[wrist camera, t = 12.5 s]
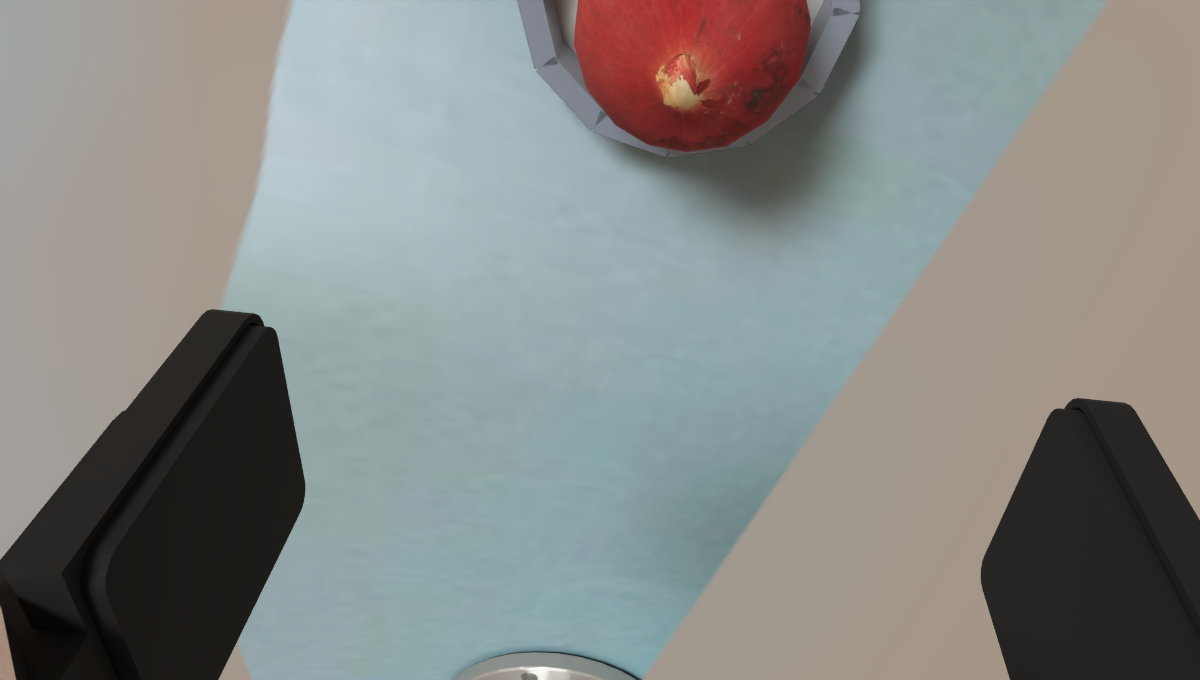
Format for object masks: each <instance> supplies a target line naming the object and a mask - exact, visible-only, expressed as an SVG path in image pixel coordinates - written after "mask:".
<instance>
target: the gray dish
mask: <svg viewBox="0 0 1200 680" xmlns="http://www.w3.org/2000/svg"><path fill="white" fill-rule="evenodd" d="M517 2H518V6H519V10H520V14H521V18H522V22H523V26H524V30H525V34H526V38H527V42H528V46H529V49H530V53H531V57H532V61H533V65H534V68H537V71H536V72H537V73H538V74H539V75H540V76H541V77H542V79H543V80H544V81H545V82H546V83H547V84H548V85H549V86H550V87H551V88H552V89H553V90H554V92H555V93H556V94H557V95H558V96H559V97H560V98H561V99H562V100H563V101H564V102H565V104H566V105H567V106H568V107H569V108H570V109H571V110H572V111H573V112H574V113H575V114H576V115H577V117H578V118H579V119H580V120H581V121H582V122H583V123H584V124H585V125H586V126H587V127H588V128H589V130H591V129H592V128H593V127H594V130H593V132H594V133H597V134H600V135H603V136H606V137H609V138H612V139H614V140H617V141H620V142H623V143H626V144H629V145H632V146H634V147H637V148H640V149H643V150H646V151H649V152H652V153H654V154H657V155H660V156H663V157H666V156H667V154H668V152H669V158H672V157H678V156H685V155H692V154H699V153H705V152H712V151H719V150H726V149H732V148H739V147H746V146H747V141H748V143H749V144H750V145H751V144H752V143H754V142H755V141H757V140H758V139H759V138H761V137H762V136H764V135H765V134H766V133H768V132H769V131H771V130H772V129H773V128H775V127H776V126H778V125H779V124H780V123H782V122H783V121H784V120H786V119H787V118H789V117H790V116H791V115H793V114H794V113H796V112H797V111H798V110H800V109H801V108H803V107H804V106H805V105H807V104H808V103H810V102H811V101H812V100H814V99H815V98H816V97H817V94H816V93H819V94H820V93H821V91H822V89H823V87H824V85H825V83H826V81H827V79H828V77H829V75H830V73H831V71H832V69H833V67H834V65H835V63H836V61H837V59H838V57H839V55H840V53H841V51H842V49H843V47H844V45H845V43H846V41H847V39H848V37H849V35H850V33H851V31H852V29H853V27H854V25H855V23H856V21H857V19H858V17H859V14H858V12H860V0H807V5H808V9H809V13H810V18H811V30H810V34H809V39H808V44H807V48H806V53H805V58H804V62H803V67H802V72H801V76H800V79H799V81H798V82H797V83H796V85H795V86H794V87H793V89H792V90H791V91H790V92H789V94H788V95H787V96H786V98H785V99H784V100H783V102H782V103H781V104H780V106H779V107H778V108H777V110H776V111H775V112H774V114H773V115H772V116H771V118H770V119H769V120H768V121H767V122H765V123H764V124H762V125H761V126H759V127H757V128H756V129H754V130H753V131H751V132H749V133H748V134H746V135H744V136H743V137H741V138H739V139H738V140H736V141H735V142H733V143H731V144H730V145H728V146H726V147H720V148H713V149H706V150H699V151H691V152H682V151H677V150H672V149H666V148H661V147H656V146H651V145H648V144H646V143H644V142H643V141H641V140H639V139H638V138H636V137H634V136H633V135H631V134H629V133H628V132H626V131H624V130H623V129H621V128H619V127H618V126H616V125H615V124H614V123H613V122H612V121H611V119H610V118H609V117H608V115H607V114H606V113H605V112H604V110H603V109H602V108H601V107H600V105H599V104H598V103H597V101H596V100H595V99H594V98H593V96H592V95H591V94H590V92H589V91H588V89H587V88H586V86H585V82H584V79H583V75H582V71H581V68H580V64H579V61H578V57H577V53H576V50H575V46H574V31H575V23H576V14H577V5H578V0H517Z"/></svg>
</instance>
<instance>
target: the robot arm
mask: <svg viewBox="0 0 1200 680" xmlns="http://www.w3.org/2000/svg"><path fill="white" fill-rule="evenodd" d="M304 497H305V480H304V474H303V469H302V464H301V459H300V453H299V448H298V443H297V437H296V432H295V427H294V421H293V416H292V411H291V405H290V400H289V395H288V390H287V384H286V379H285V374H284V368H283V363H282V358H281V352H280V347H279V342H278V337H277V334H276V331H275V330H274V328H271V327H265V326H264V324H263V321H262V319H261V318H260V316H259V315H257V314H253V313H243V312H234V311H224V310H214V309H211V310H207V311H206V312H205V313H204V314H203V315H202V316H201V317H200V318H199V320H198V321H197V322H196V323H195V325H194V326H193V327H192V328H191V329H190V331H189V332H188V333H187V334H186V336H185V337H184V338H183V339H182V341H181V342H180V343H179V344H178V346H177V347H176V348H175V350H174V351H173V352H172V353H171V354H170V356H169V357H168V358H167V359H166V361H165V362H164V363H163V364H162V366H161V367H160V368H159V369H158V371H157V372H156V373H155V375H154V376H153V377H152V378H151V379H150V381H149V382H148V383H147V384H146V386H145V387H144V388H143V389H142V391H141V392H140V393H139V394H138V396H137V397H136V398H135V399H134V401H133V402H132V403H131V404H130V406H129V407H128V408H127V409H126V411H123V412H121V413H120V414H119V415H118V416H117V417H116V418H115V419H114V420H113V421H112V422H111V423H110V425H109V426H108V427H107V429H106V430H105V431H104V432H103V434H102V435H101V436H100V437H99V438H98V440H97V441H96V442H95V443H94V445H93V446H92V447H91V448H90V450H89V451H88V452H87V453H86V454H85V456H84V457H83V458H82V459H81V461H80V462H79V463H78V464H77V466H76V467H75V468H74V469H73V471H72V472H71V473H70V474H69V476H68V477H67V478H66V479H65V481H64V482H63V483H62V484H61V485H60V487H59V488H58V489H57V491H56V492H55V493H54V494H53V495H52V497H51V498H50V499H49V500H48V502H47V503H46V504H45V506H44V507H43V508H42V509H41V510H40V512H39V513H38V514H37V515H36V517H35V518H34V519H33V520H32V522H31V523H30V524H29V525H28V527H27V528H26V529H25V530H24V532H23V533H22V534H21V535H20V536H19V538H18V539H17V540H16V541H15V543H14V544H13V545H12V546H11V548H10V549H9V550H8V551H7V553H6V554H5V555H4V556H3V557H2V559H1V560H0V680H218V679H219V677H220V675H221V673H222V671H223V669H224V667H225V665H226V663H227V661H228V659H229V657H230V655H231V653H232V651H233V649H234V647H235V645H236V643H237V640H238V638H239V636H240V634H241V632H242V630H243V628H244V626H245V624H246V622H247V620H248V618H249V616H250V614H251V612H252V610H253V608H254V606H255V604H256V602H257V600H258V598H259V596H260V594H261V592H262V589H263V587H264V585H265V583H266V581H267V579H268V577H269V575H270V573H271V571H272V569H273V567H274V565H275V563H276V561H277V559H278V557H279V555H280V553H281V551H282V549H283V547H284V545H285V543H286V541H287V539H288V536H289V534H290V532H291V530H292V528H293V526H294V524H295V522H296V520H297V518H298V516H299V514H300V512H301V509H302V506H303V502H304ZM981 584H982V589H983V592H984V596H985V599H986V602H987V605H988V609H989V612H990V615H991V618H992V622H993V625H994V628H995V632H996V635H997V638H998V642H999V644H1000V648H1001V651H1002V655H1003V658H1004V661H1005V664H1006V668H1007V671H1008V674H1009V677H1010V680H1200V520H1199V518H1198V517H1197V515H1196V513H1195V512H1194V510H1193V508H1192V507H1191V505H1190V503H1189V501H1188V500H1187V498H1186V496H1185V495H1184V493H1183V491H1182V490H1181V488H1180V486H1179V484H1178V483H1177V481H1176V479H1175V478H1174V476H1173V474H1172V472H1171V471H1170V469H1169V468H1168V466H1167V464H1166V463H1165V461H1164V459H1163V457H1162V456H1161V454H1160V452H1159V450H1158V449H1157V447H1156V445H1155V444H1154V442H1153V440H1152V439H1151V437H1150V435H1149V434H1148V432H1147V430H1146V429H1145V427H1144V425H1143V423H1142V422H1141V420H1140V418H1139V417H1138V415H1137V413H1136V411H1135V410H1134V409H1133V408H1132V407H1131V406H1130V405H1128V404H1126V403H1121V402H1111V401H1101V400H1091V399H1081V398H1077V399H1073V400H1072V401H1070V402H1069V403H1068V404H1067V405H1066V407H1065V409H1055V410H1053V411H1052V412H1051V413H1050V415H1049V417H1048V419H1047V421H1046V423H1045V425H1044V427H1043V430H1042V432H1041V434H1040V436H1039V438H1038V440H1037V443H1036V445H1035V447H1034V449H1033V451H1032V454H1031V456H1030V458H1029V460H1028V462H1027V465H1026V467H1025V469H1024V471H1023V473H1022V475H1021V477H1020V480H1019V482H1018V484H1017V486H1016V488H1015V491H1014V493H1013V495H1012V497H1011V499H1010V501H1009V503H1008V506H1007V508H1006V510H1005V512H1004V514H1003V517H1002V519H1001V521H1000V523H999V526H998V528H997V530H996V532H995V534H994V536H993V538H992V540H991V543H990V545H989V547H988V549H987V551H986V554H985V556H984V559H983V561H982V567H981ZM454 680H636V679H635V678H633V677H631V676H629V675H628V674H626V673H624V672H622V671H620V670H618V669H615V668H613V667H611V666H608V665H606V664H603V663H600V662H597V661H593V660H590V659H586V658H582V657H578V656H572V655H566V654H559V653H544V652H528V653H514V654H508V655H503V656H498V657H494V658H491V659H488V660H485V661H483V662H480V663H477V664H475V665H473V666H471V667H470V668H468V669H466V670H465V671H463V672H462V673H460V674H459V675H458V676H457V677H456V678H455V679H454Z"/></svg>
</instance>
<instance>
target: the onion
mask: <svg viewBox="0 0 1200 680" xmlns="http://www.w3.org/2000/svg"><path fill="white" fill-rule="evenodd" d="M810 30H811V18H810V13H809V9H808V5H807V0H578V5H577V14H576V23H575V31H574V46H575V50H576V53H577V57H578V61H579V64H580V68H581V71H582V75H583V79H584V82H585V86H586V88H587V89H588V91H589V92H590V94H591V95H592V96H593V98H594V99H595V100H596V101H597V103H598V104H599V105H600V107H601V108H602V109H603V110H604V112H605V113H606V114H607V115H608V117H609V118H610V119H611V121H612V122H613V123H614V124H615V125H616V126H618V127H619V128H621V129H623V130H624V131H626V132H628V133H629V134H631V135H633V136H634V137H636V138H638V139H639V140H641V141H643V142H644V143H646V144H648V145H651V146H656V147H661V148H666V149H672V150H677V151H682V152H691V151H699V150H706V149H713V148H720V147H726V146H728V145H730V144H731V143H733V142H735V141H736V140H738V139H739V138H741V137H743V136H744V135H746V134H748V133H749V132H751V131H753V130H754V129H756V128H757V127H759V126H761V125H762V124H764V123H765V122H767V121H768V120H769V119H770V118H771V116H772V115H773V114H774V112H775V111H776V110H777V108H778V107H779V106H780V104H781V103H782V102H783V100H784V99H785V98H786V96H787V95H788V94H789V92H790V91H791V90H792V89H793V87H794V86H795V85H796V83H797V82H798V81H799V79H800V76H801V72H802V67H803V62H804V58H805V53H806V48H807V44H808V39H809V34H810Z"/></svg>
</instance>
